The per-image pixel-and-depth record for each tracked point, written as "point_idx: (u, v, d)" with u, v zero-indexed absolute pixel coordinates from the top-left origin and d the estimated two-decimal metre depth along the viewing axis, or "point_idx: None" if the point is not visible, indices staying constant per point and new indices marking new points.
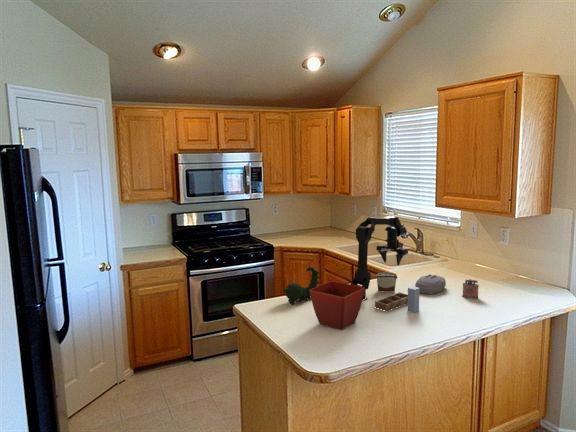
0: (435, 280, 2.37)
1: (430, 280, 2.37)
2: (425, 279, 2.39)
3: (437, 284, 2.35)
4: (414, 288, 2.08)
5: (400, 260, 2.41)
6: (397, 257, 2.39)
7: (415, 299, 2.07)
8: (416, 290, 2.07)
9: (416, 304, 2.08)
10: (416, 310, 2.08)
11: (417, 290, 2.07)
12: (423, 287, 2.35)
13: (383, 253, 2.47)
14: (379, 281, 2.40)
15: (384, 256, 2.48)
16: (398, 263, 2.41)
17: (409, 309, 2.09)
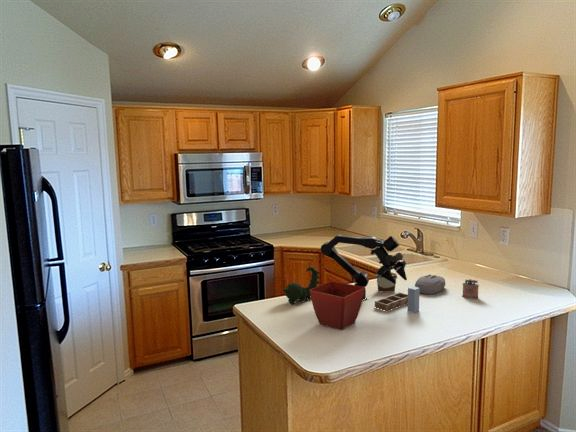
0: (435, 280, 2.37)
1: (430, 280, 2.37)
2: (425, 279, 2.39)
3: (437, 284, 2.35)
4: (414, 288, 2.08)
5: (391, 278, 2.12)
6: None
7: (415, 299, 2.07)
8: (416, 290, 2.07)
9: (416, 304, 2.08)
10: (416, 310, 2.08)
11: (417, 290, 2.07)
12: (423, 287, 2.35)
13: (398, 272, 2.21)
14: (379, 281, 2.40)
15: (401, 274, 2.19)
16: (392, 282, 2.12)
17: (409, 309, 2.09)
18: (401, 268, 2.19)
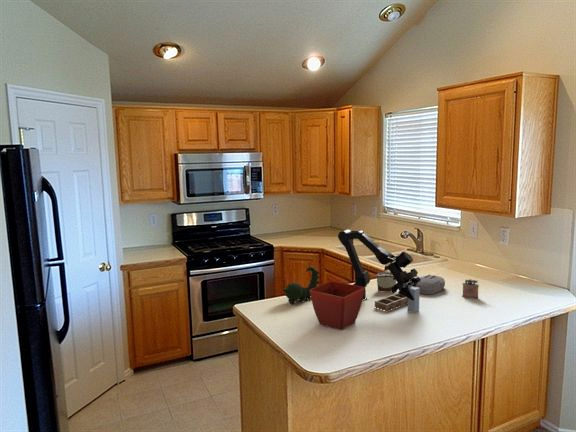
0: (434, 280, 2.37)
1: (429, 280, 2.37)
2: (424, 279, 2.38)
3: (436, 284, 2.35)
4: (414, 288, 2.08)
5: (409, 294, 2.07)
6: None
7: (415, 299, 2.07)
8: (416, 290, 2.07)
9: (416, 304, 2.08)
10: (416, 310, 2.08)
11: (417, 290, 2.07)
12: (422, 287, 2.35)
13: None
14: (379, 281, 2.40)
15: None
16: (410, 298, 2.08)
17: (409, 309, 2.09)
18: None
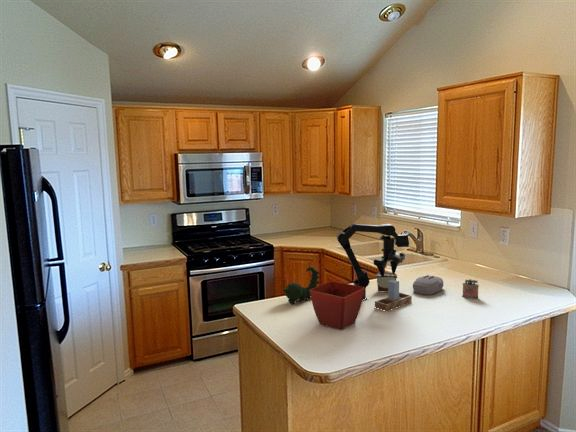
0: (432, 281, 2.36)
1: (427, 281, 2.36)
2: (422, 280, 2.38)
3: (434, 285, 2.34)
4: (394, 281, 2.17)
5: (382, 272, 2.23)
6: None
7: (395, 292, 2.16)
8: (396, 283, 2.16)
9: (396, 297, 2.17)
10: None
11: (397, 283, 2.16)
12: (420, 288, 2.34)
13: (392, 263, 2.31)
14: (379, 281, 2.40)
15: (392, 266, 2.30)
16: (381, 274, 2.25)
17: None
18: (396, 263, 2.29)
